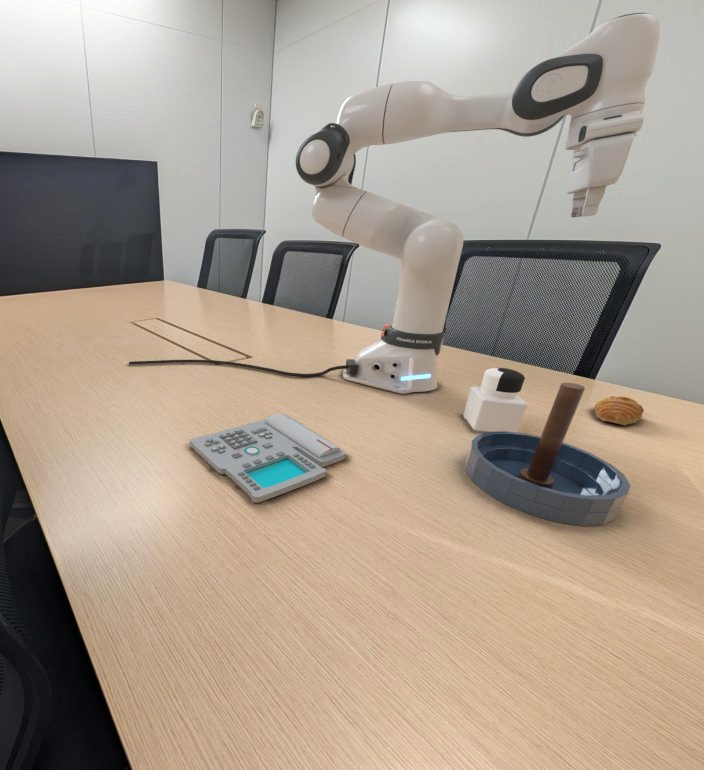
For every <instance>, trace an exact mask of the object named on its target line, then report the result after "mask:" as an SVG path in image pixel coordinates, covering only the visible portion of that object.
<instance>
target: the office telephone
mask: <svg viewBox="0 0 704 770" xmlns="http://www.w3.org/2000/svg"><path fill="white" fill-rule="evenodd" d="M189 446H190V447H191V448H192V449H193V450H194V451H195V453H197V454H198V455H199V456H200V457H201V458H202V459H203V460H204V461H205V462H206V463H208V465H209V466H211V468H212V469H214V470H215V471H216V472H217V473H218V474H220V475H226V476H227V477H228V478H229V479H230V480H232V481H233V483H235V484H236V485H237V486H238V487H239V488H240V489H241V490H242V491H243V492H245V494H247V496H248V497H249V498H250V499H251V502H253V503H255V504H258V503H263V502H265V501H267V500H270V499H272V498H275V497H277V496H280V495H283V494H286V493H288V492H291V491H293V490H296V489H298V488H301V487H303V486H307V485H309V484H312V483H314V482H317V481H319V480H321V479H323V478H325V477H326V475H327V474H326V473H327V470H326V468H325V467H328V466H331V465H333V464H337V463H338V462H341V461H343V460H345V458H346V452H345V450H344V449H341V448H340V447H339V446H337V445H336V444H334V443H332V442H331V441H330V440H328V439H327V438H324V437H323V436H322V435H320V434H319V433H317V432H315V431H313V430H312V429H310V428H309V427H308V426H305V425H304V424H303V423H301V422H299V421H298V420H296V419H294V418H293V417H290V416H289V415H288V414H287V413H283V414H282V413H274V414H272V415H269V416H267V418H264V419H260V420H256V421H253V422H249V423H246V424H243V425H242V424H241V425H239V426H235V427H231V428H228V429H225V430H220V431H217V432H214V433H210V434H205V435H201V436H198V437H194V438H190V439H189Z"/></svg>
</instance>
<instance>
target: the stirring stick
mask: <svg viewBox="0 0 704 770" xmlns="http://www.w3.org/2000/svg"><path fill="white" fill-rule="evenodd" d="M585 390H586V387H585V386H584V385H582V384H578V383H574V382H562V383H560V386H559V388H558V391H557V393H556V396H555V399H554V402H553V403H552V406H551V409H550V411H549V414H548V417H547V419H546V421H545V424H544V427H543V429H542V433H541V435H540V436H541V438H540V440H539V443H538V445H537V448H536V451H535V453H534V456H533V458H532V461H531V464H530V466H529V468H524V469H521V470H520V473H519V476H518V478H520V479H523V480H525V481H528V482H530V483H533V484H536V485H538V486H541V487H545V488H549V489H552V487H553V484H554V482H555V481H554V479H553V478H552V477H551V476H550V472H551V470H552V467H553V465H554V463H555V460H556V458H557V455H558V453H559V450H560V448H561V446H562V443H564V440H565V439H566V436H567V434H568V431H569V428H570V426H571V424H572V422H573V419H574V416H575V415H576V412H577V409H578V407H579V404H580V402H581V400H582V397H583V394H584V392H585Z"/></svg>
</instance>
